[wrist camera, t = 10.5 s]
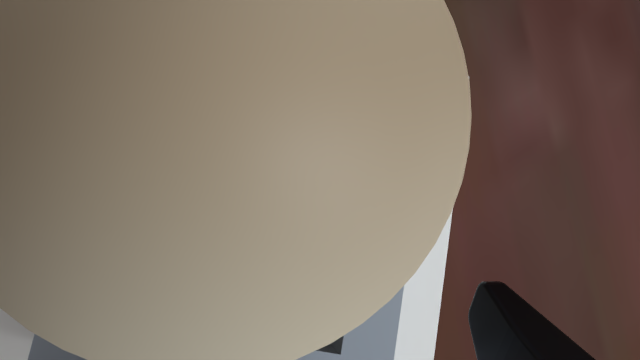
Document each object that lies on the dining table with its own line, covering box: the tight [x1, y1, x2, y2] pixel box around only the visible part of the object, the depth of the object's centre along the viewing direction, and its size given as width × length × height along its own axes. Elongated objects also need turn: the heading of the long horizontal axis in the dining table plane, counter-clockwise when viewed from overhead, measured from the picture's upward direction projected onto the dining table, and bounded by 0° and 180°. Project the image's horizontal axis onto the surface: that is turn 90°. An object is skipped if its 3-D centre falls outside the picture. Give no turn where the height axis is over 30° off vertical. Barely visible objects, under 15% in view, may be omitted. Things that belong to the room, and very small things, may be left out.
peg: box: [0, 0, 471, 360], centre depth 11 cm, size 4×4×14 cm
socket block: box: [0, 77, 469, 360], centre depth 17 cm, size 14×14×4 cm
